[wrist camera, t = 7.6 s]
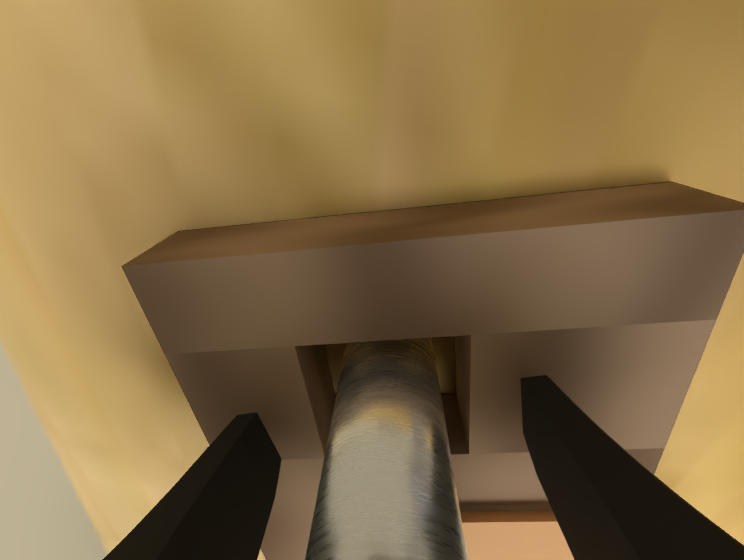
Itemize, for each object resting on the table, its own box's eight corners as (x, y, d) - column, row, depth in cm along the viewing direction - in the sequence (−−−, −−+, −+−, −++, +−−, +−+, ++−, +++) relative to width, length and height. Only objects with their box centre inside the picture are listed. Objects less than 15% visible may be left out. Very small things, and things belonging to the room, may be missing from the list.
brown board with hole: (672, 181, 9) (826, 227, 6) (579, 522, 16) (625, 627, 13) (177, 231, 11) (82, 290, 7) (293, 525, 18) (271, 621, 15)
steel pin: (423, 301, 11) (461, 545, 5) (438, 370, 13) (484, 632, 6) (336, 317, 12) (273, 560, 6) (359, 382, 13) (330, 637, 7)
